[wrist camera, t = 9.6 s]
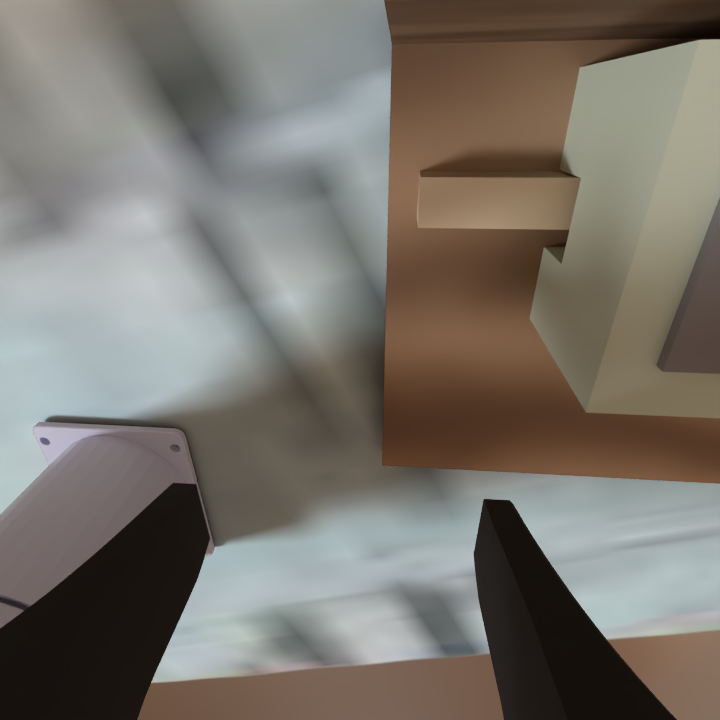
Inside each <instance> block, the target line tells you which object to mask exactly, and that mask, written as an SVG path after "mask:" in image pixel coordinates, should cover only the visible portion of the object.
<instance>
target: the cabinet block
mask: <svg viewBox="0 0 720 720" xmlns="http://www.w3.org/2000/svg"><path fill="white" fill-rule="evenodd" d="M559 170H562V171H564V172H567V173H569V174H572V175H574V176H577V177H580V178H581V181H580V185H579V189H578V194H577V198H576V203H575V207H574V212H573V216H572V221H571V225H570V229H569V234H568V238H567V243H566V247H544V249H543V254H542V259H541V264H540V269H539V274H538V279H537V284H536V289H535V294H534V299H533V304H532V309H531V314H530V320H531V322H532V323H533V325H534V327H535V328H536V330H537V332H538V333H539V335H540V337H541V338H542V340H543V342H544V344H545V345H546V347H547V349H548V350H549V352H550V354H551V355H552V357H553V359H554V360H555V362H556V364H557V365H558V367H559V369H560V370H561V372H562V374H563V375H564V377H565V379H566V380H567V382H568V384H569V385H570V387H571V389H572V390H573V392H574V394H575V395H576V397H577V399H578V400H579V402H580V404H581V405H582V407H583V409H584V410H585V412H586V413H606V414H629V415H652V416H675V417H698V418H720V39H711V40H696V41H692V42H688V43H683V44H679V45H675V46H670V47H666V48H662V49H657V50H653V51H649V52H644V53H640V54H636V55H631V56H627V57H623V58H618V59H614V60H610V61H605V62H601V63H597V64H592V65H588V66H584V67H580V69H579V74H578V79H577V84H576V89H575V94H574V99H573V104H572V109H571V114H570V119H569V124H568V129H567V134H566V139H565V144H564V149H563V154H562V159H561V164H560V169H559Z"/></svg>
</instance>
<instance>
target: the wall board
mask: <svg viewBox="0 0 720 720" xmlns="http://www.w3.org/2000/svg"><path fill="white" fill-rule="evenodd" d="M384 1H385V7H386V13H387V18H388V24H389V30H390V35H391V41H392V69H391V112H390V155H389V198H388V240H387V283H386V326H385V369H384V412H383V454H382V465H389V466H408V467H426V468H444V469H463V470H481V471H499V472H518V473H536V474H555V475H573V476H591V477H610V478H628V479H646V480H665V481H683V482H702V483H720V418H698V417H675V416H652V415H629V414H606V413H586V412H585V410H584V409H583V407H582V405H581V404H580V402H579V400H578V399H577V397H576V395H575V394H574V392H573V390H572V389H571V387H570V385H569V384H568V382H567V380H566V379H565V377H564V375H563V374H562V372H561V370H560V369H559V367H558V365H557V364H556V362H555V360H554V359H553V357H552V355H551V354H550V352H549V350H548V349H547V347H546V345H545V344H544V342H543V340H542V338H541V337H540V335H539V333H538V332H537V330H536V328H535V327H534V325H533V323H532V322H531V320H530V314H531V309H532V304H533V299H534V294H535V289H536V284H537V279H538V274H539V269H540V264H541V259H542V254H543V249H544V247H566V243H567V238H568V234H569V229H570V225H571V221H572V216H573V212H574V207H575V203H576V198H577V194H578V189H579V185H580V181H581V178H580V177H577V176H574V175H572V174H569V173H567V172H564V171H562V170H559V169H560V164H561V159H562V154H563V149H564V144H565V139H566V134H567V129H568V124H569V119H570V114H571V109H572V104H573V99H574V94H575V89H576V84H577V79H578V74H579V69H580V67H584V66H588V65H592V64H597V63H601V62H605V61H610V60H614V59H618V58H623V57H627V56H631V55H636V54H640V53H644V52H649V51H653V50H657V49H662V48H666V47H670V46H675V45H679V44H683V43H688V42H692V41H696V40H711V39H720V0H384Z"/></svg>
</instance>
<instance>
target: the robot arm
mask: <svg viewBox="0 0 720 720" xmlns="http://www.w3.org/2000/svg"><path fill="white" fill-rule="evenodd" d="M32 430H33V434H34V436H35V438H36V440H37V442H38V444H39V446H40V448H41V451H42V453H43V455H44V457H45V459H46V461H47V463H48V465H49V466H48V467H47V468H46V469H45V470H44V471H43V472H42V473H41V474H40V475H39V476H38V477H37V478H36V479H35V480H34V481H33V482H32V483H31V484H30V485H29V486H28V487H27V488H26V489H25V490H24V491H23V492H22V493H21V494H20V495H19V496H18V497H17V498H16V499H15V500H14V501H13V502H12V503H11V504H10V505H9V506H8V507H7V508H6V509H5V510H4V511H3V512H2V513H1V514H0V720H137V718H138V716H139V713H140V710H141V707H142V704H143V702H144V699H145V696H146V694H147V691H148V689H149V686H150V684H151V681H152V679H153V677H154V674H155V672H156V670H157V667H158V665H159V663H160V661H161V659H162V656H163V654H164V652H165V650H166V648H167V645H168V643H169V641H170V639H171V637H172V634H173V632H174V630H175V628H176V626H177V623H178V621H179V619H180V617H181V615H182V612H183V610H184V608H185V606H186V603H187V601H188V599H189V597H190V595H191V592H192V590H193V588H194V585H195V583H196V581H197V578H198V575H199V572H200V569H201V566H202V563H203V560H204V557H205V556H210V555H212V553H213V551H214V544H213V540H212V536H211V532H210V528H209V524H208V521H207V517H206V513H205V509H204V505H203V501H202V498H201V494H200V490H199V486H198V482H197V478H196V475H195V471H194V467H193V463H192V459H191V455H190V452H189V448H188V444H187V440H186V436H185V434H184V433H183V432H182V431H181V430H179V429H175V428H158V427H138V426H117V425H97V424H77V423H57V422H39V423H38V424H37V425H35V426H34V427H33V429H32ZM176 445H178V446H179V447H177V446H176ZM474 562H475V572H476V581H477V589H478V598H479V603H480V608H481V612H482V617H483V622H484V627H485V631H486V636H487V641H488V645H489V650H490V654H491V659H492V663H493V668H494V673H495V677H496V682H497V687H498V691H499V695H500V700H501V705H502V710H503V716H504V720H677V719H676V718H675V717H674V716H673V715H672V714H671V713H670V712H669V711H668V710H667V709H666V708H665V707H664V706H663V704H662V703H661V702H660V701H659V700H658V699H657V698H656V697H655V695H654V694H653V693H652V692H651V691H650V690H649V689H648V688H647V687H646V685H645V684H644V683H643V682H642V681H641V680H640V679H639V678H638V676H637V675H636V674H635V673H634V672H633V671H632V669H631V668H630V667H629V666H628V665H627V664H626V662H625V661H624V660H623V659H622V658H621V657H620V655H619V654H618V653H617V652H616V651H615V649H614V648H613V647H612V646H611V645H610V643H609V642H608V641H607V639H606V638H605V637H604V636H603V634H602V633H601V632H600V631H599V629H598V628H597V627H596V626H595V624H594V623H593V622H592V620H591V619H590V618H589V616H588V615H587V614H586V613H585V611H584V610H583V609H582V607H581V606H580V605H579V603H578V602H577V601H576V599H575V598H574V597H573V595H572V594H571V592H570V591H569V590H568V588H567V587H566V585H565V584H564V582H563V581H562V580H561V578H560V577H559V575H558V574H557V572H556V571H555V570H554V568H553V567H552V565H551V564H550V562H549V561H548V559H547V558H546V556H545V555H544V553H543V552H542V550H541V549H540V547H539V546H538V544H537V543H536V541H535V539H534V538H533V536H532V535H531V533H530V531H529V530H528V528H527V527H526V525H525V523H524V522H523V520H522V518H521V517H520V515H519V513H518V512H517V510H516V508H515V506H514V505H513V503H512V502H511V501H510V500H491V499H484V501H483V506H482V512H481V517H480V523H479V528H478V534H477V539H476V545H475V550H474Z"/></svg>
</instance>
